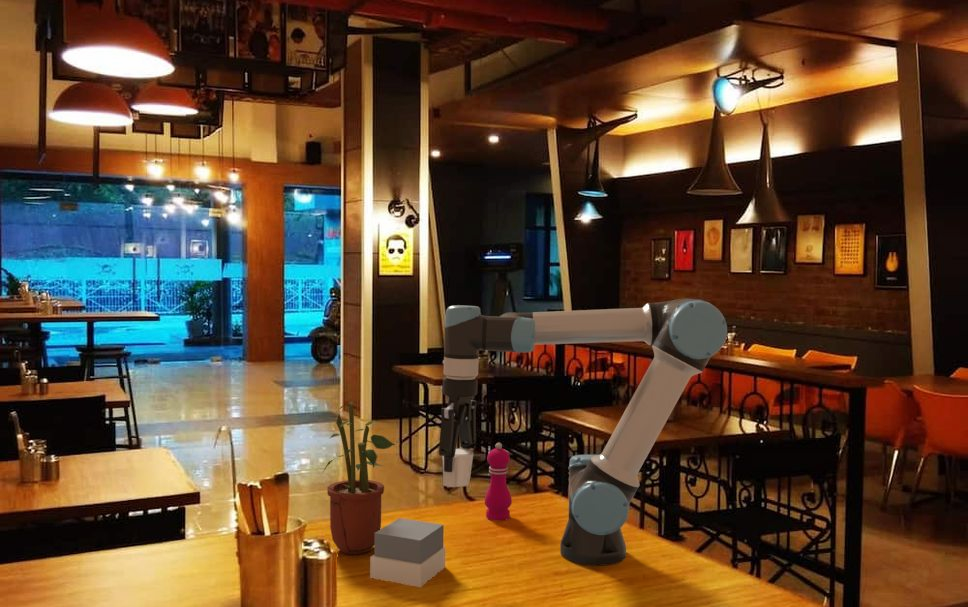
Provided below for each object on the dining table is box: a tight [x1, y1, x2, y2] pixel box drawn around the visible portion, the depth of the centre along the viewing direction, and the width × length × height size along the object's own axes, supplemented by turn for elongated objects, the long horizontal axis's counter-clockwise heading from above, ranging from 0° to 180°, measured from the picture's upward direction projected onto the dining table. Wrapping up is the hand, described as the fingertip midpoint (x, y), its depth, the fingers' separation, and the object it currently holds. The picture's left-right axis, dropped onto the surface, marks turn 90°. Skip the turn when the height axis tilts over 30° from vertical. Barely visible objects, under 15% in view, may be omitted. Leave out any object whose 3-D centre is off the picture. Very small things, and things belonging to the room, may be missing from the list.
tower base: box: [369, 546, 446, 588], centre depth 173 cm, size 12×12×5 cm
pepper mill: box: [484, 442, 513, 521], centre depth 211 cm, size 7×7×20 cm
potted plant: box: [322, 402, 396, 555], centre depth 188 cm, size 17×16×35 cm
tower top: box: [373, 517, 444, 564], centre depth 173 cm, size 11×11×5 cm
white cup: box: [441, 447, 474, 488], centre depth 173 cm, size 7×7×7 cm
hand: (456, 481), depth 173 cm, fingers closed on white cup, 7 cm apart
